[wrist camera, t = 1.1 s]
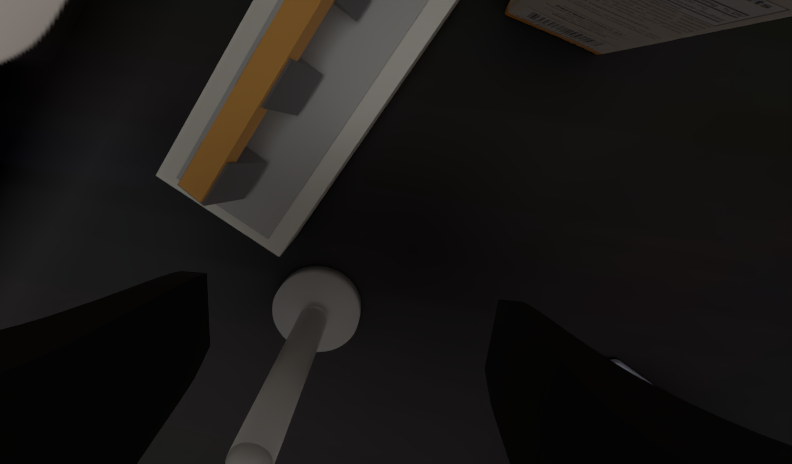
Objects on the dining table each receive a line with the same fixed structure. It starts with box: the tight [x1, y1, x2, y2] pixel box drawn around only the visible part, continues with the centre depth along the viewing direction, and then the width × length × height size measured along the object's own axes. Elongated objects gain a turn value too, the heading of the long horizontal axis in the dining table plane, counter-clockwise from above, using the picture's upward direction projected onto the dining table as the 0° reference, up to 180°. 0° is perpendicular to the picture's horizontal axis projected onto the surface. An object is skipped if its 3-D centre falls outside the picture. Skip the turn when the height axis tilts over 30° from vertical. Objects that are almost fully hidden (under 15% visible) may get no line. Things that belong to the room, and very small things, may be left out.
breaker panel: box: [156, 0, 459, 257], centre depth 18 cm, size 6×13×3 cm, turn 144°
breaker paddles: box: [177, 0, 370, 206], centre depth 15 cm, size 1×10×3 cm, turn 144°
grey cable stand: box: [225, 266, 361, 464], centre depth 18 cm, size 4×4×11 cm
